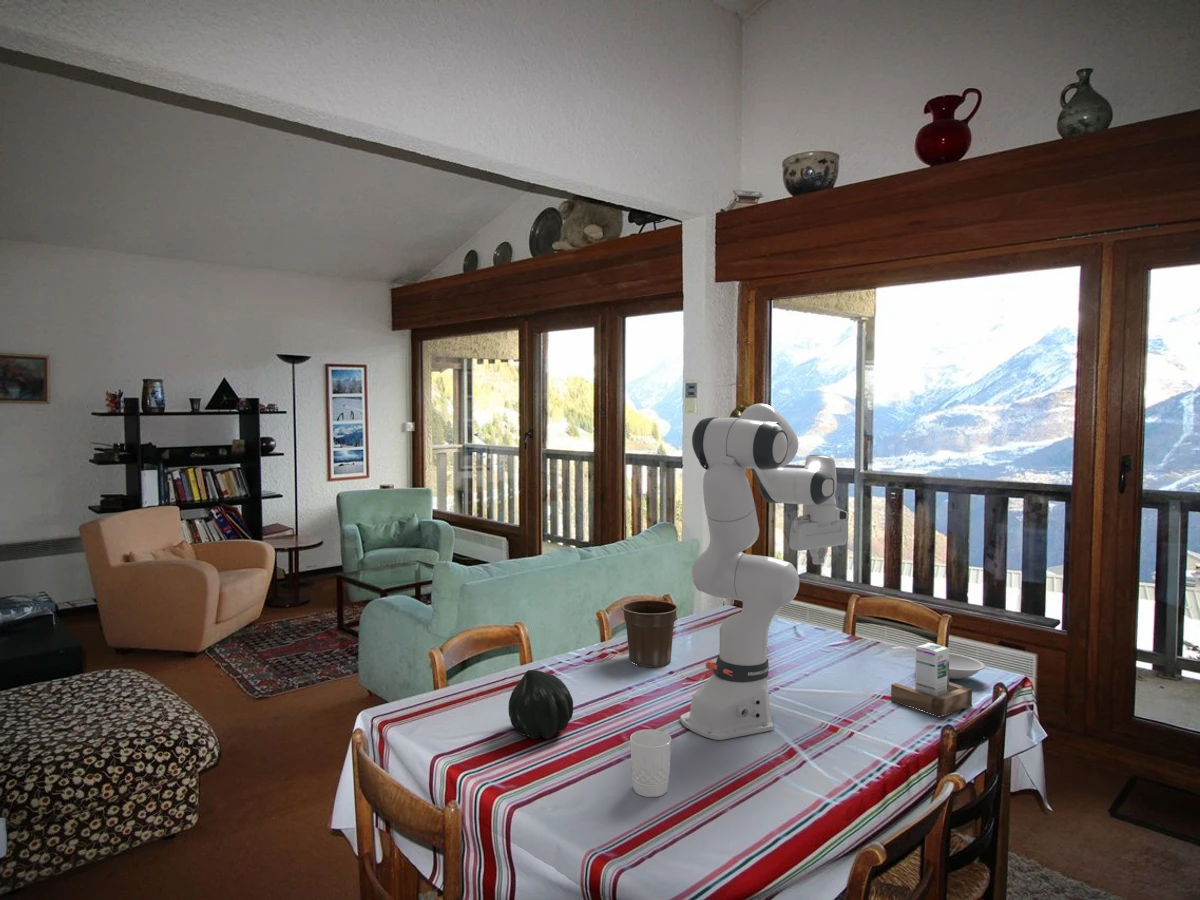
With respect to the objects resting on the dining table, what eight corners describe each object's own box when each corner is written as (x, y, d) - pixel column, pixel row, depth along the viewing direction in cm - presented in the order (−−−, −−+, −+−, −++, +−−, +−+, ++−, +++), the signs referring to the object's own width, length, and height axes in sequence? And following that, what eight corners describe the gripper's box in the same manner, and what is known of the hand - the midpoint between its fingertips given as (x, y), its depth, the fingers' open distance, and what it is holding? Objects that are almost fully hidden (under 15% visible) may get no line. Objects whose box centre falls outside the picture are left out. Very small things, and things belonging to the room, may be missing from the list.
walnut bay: (938, 717, 177) (939, 701, 177) (890, 700, 188) (891, 684, 188) (971, 705, 185) (972, 689, 185) (923, 688, 196) (924, 673, 196)
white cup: (668, 778, 147) (668, 728, 147) (673, 799, 140) (673, 746, 139) (628, 779, 147) (628, 729, 147) (631, 799, 139) (631, 747, 139)
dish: (907, 678, 204) (907, 660, 204) (922, 664, 215) (922, 647, 215) (977, 693, 193) (978, 674, 193) (989, 678, 204) (990, 660, 204)
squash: (595, 705, 170) (558, 650, 174) (559, 732, 157) (519, 672, 161) (557, 735, 176) (522, 681, 180) (519, 763, 163) (482, 704, 167)
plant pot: (612, 656, 221) (612, 602, 220) (659, 649, 228) (660, 597, 227) (637, 673, 207) (638, 616, 206) (687, 665, 213) (688, 610, 213)
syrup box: (936, 710, 182) (937, 651, 181) (913, 702, 187) (915, 645, 186) (948, 705, 185) (950, 647, 185) (926, 697, 190) (928, 641, 189)
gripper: (802, 517, 196) (801, 569, 197) (852, 512, 208) (851, 562, 208) (784, 515, 201) (783, 565, 202) (834, 510, 213) (833, 558, 213)
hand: (818, 563), depth 205 cm, fingers closed
